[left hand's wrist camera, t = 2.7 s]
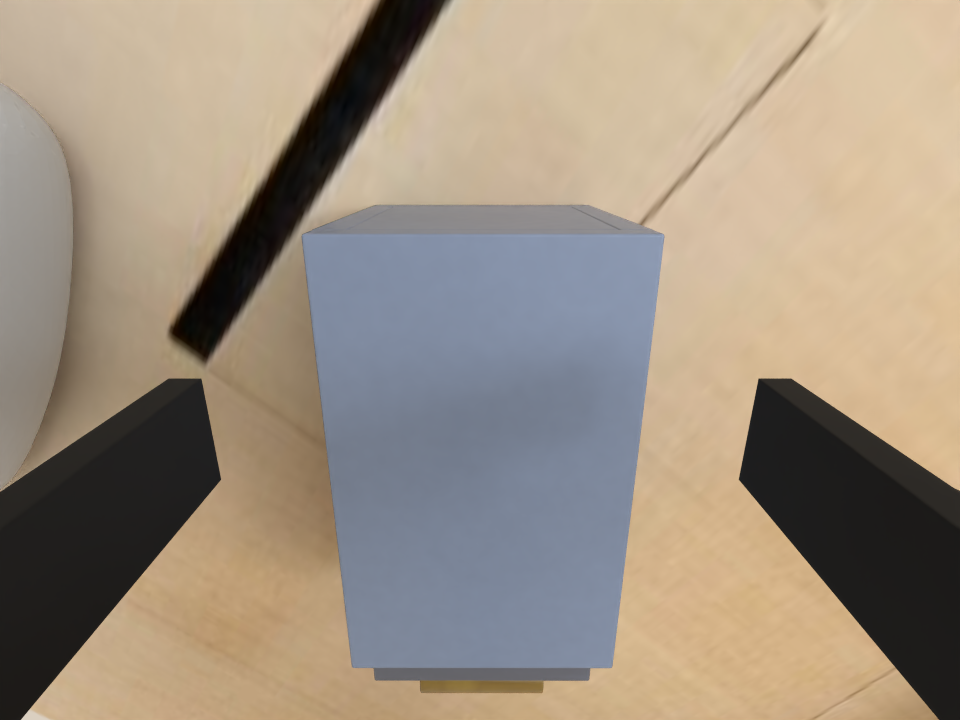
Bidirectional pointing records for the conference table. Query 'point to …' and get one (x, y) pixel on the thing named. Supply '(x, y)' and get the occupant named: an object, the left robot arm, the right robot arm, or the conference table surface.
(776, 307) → the conference table surface
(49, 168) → the projector
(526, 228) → the cabinet
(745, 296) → the conference table surface
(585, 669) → the drawer
